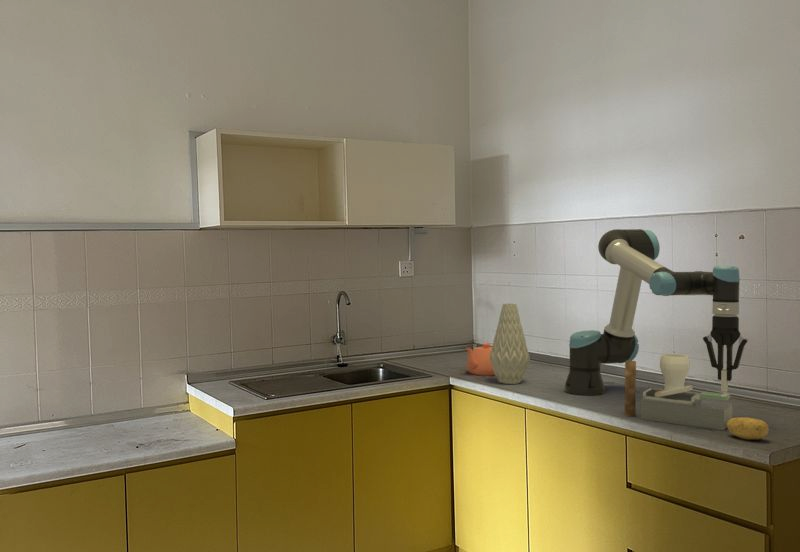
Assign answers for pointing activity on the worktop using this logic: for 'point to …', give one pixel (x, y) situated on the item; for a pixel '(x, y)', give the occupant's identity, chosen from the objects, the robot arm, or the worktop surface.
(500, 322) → the vase
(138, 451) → the worktop surface
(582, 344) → the robot arm
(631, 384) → the brown rounded rod
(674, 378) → the cup
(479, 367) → the teapot
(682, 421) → the grey storage bin
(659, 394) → the rocker
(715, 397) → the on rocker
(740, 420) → the potato
